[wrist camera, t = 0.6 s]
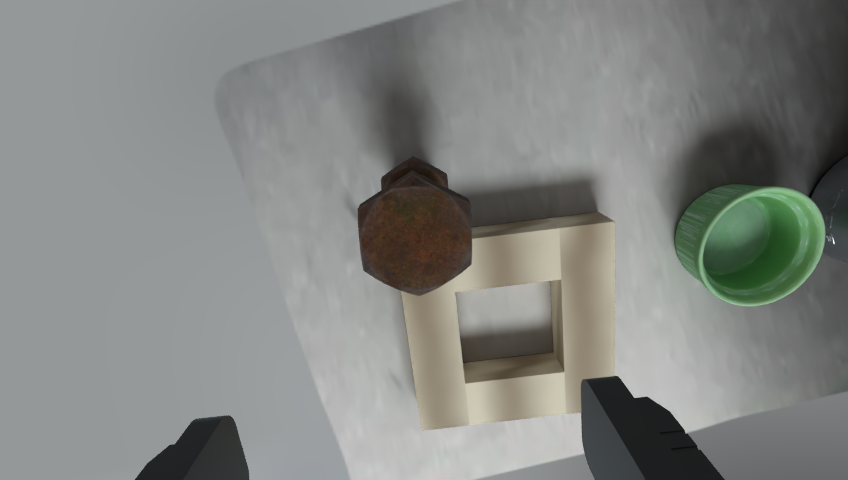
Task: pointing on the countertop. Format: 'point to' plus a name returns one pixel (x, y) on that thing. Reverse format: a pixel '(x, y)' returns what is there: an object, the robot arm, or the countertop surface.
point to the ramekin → (751, 242)
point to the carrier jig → (533, 374)
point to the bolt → (415, 229)
